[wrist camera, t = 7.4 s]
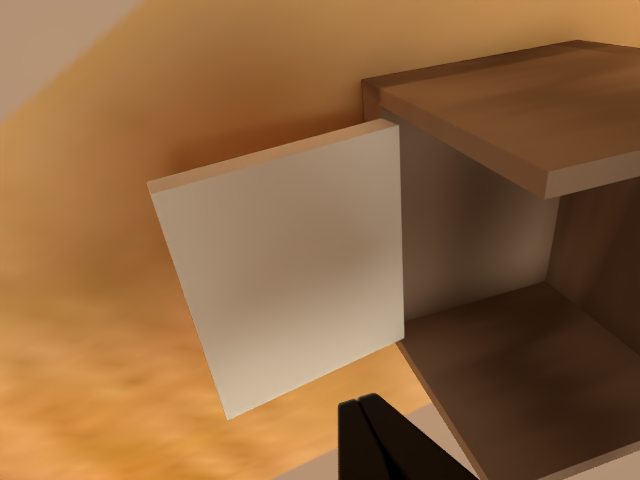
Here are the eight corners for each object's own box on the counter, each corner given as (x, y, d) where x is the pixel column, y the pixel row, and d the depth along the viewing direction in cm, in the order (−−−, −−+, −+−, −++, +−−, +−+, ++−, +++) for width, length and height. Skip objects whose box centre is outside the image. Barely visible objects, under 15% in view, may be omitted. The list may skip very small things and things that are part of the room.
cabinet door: (398, 124, 13) (150, 194, 10) (404, 338, 17) (227, 420, 14) (375, 116, 14) (144, 177, 11) (386, 319, 18) (217, 394, 15)
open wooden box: (577, 39, 16) (912, 84, 9) (540, 266, 21) (733, 414, 14) (361, 79, 14) (548, 171, 7) (376, 312, 19) (496, 504, 12)
